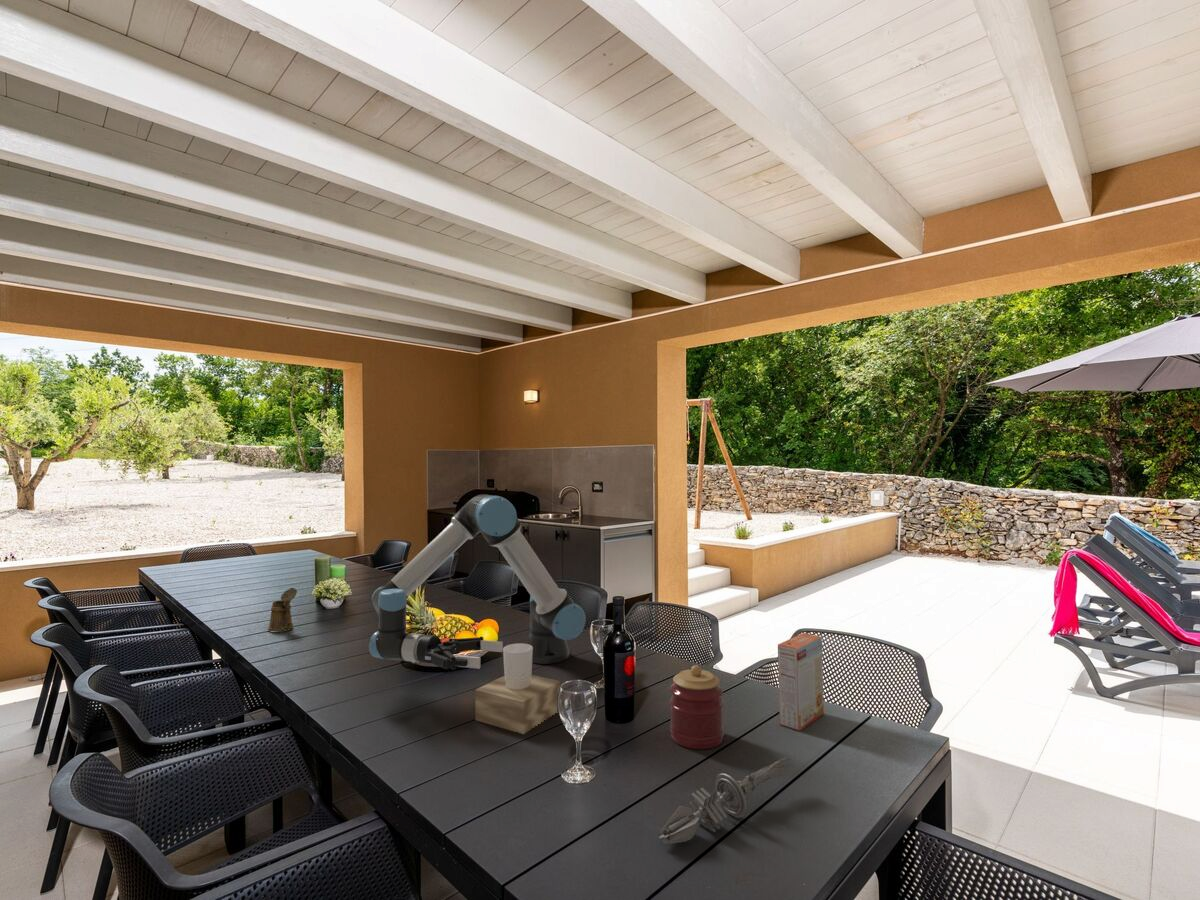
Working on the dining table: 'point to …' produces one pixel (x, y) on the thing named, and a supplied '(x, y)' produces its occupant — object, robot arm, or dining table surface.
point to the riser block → (516, 704)
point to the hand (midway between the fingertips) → (491, 654)
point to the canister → (696, 709)
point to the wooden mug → (282, 612)
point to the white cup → (518, 665)
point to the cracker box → (800, 681)
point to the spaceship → (716, 803)
